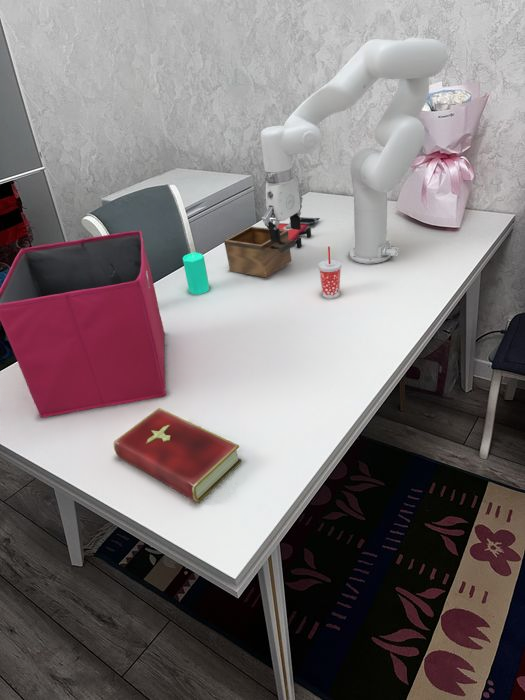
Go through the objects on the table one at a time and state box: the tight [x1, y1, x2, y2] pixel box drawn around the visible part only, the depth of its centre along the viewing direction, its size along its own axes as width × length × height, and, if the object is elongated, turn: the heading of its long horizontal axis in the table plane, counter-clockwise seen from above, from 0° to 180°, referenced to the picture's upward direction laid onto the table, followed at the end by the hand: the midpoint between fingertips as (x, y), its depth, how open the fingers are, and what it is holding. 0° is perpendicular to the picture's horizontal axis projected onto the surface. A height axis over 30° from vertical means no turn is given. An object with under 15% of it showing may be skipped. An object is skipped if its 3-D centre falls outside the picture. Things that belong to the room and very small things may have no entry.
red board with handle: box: [278, 216, 321, 249], centre depth 190 cm, size 30×3×15 cm
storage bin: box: [0, 230, 167, 419], centre depth 123 cm, size 28×29×28 cm
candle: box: [182, 251, 210, 295], centre depth 160 cm, size 6×6×12 cm
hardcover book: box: [113, 407, 243, 504], centre depth 102 cm, size 12×21×4 cm, turn 52°
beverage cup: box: [317, 246, 342, 300], centre depth 148 cm, size 6×6×14 cm
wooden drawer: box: [223, 226, 297, 278], centre depth 167 cm, size 20×13×10 cm, turn 51°
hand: (286, 235), depth 159 cm, fingers open, 9 cm apart
